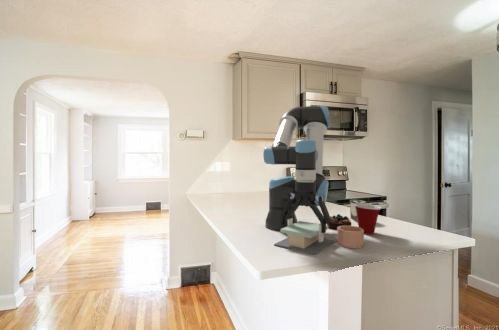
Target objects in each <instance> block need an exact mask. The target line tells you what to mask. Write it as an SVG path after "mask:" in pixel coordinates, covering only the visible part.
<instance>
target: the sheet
mask: <svg viewBox="0 0 499 330" xmlns="http://www.w3.org/2000/svg"><path fill="white" fill-rule="evenodd" d="M319 224H320V223H316V222H315V223H314V222H309V221H301V220H299V221H298V222H297V223H294V224H292V225H289V226H287V227H285V228H282V229H280V230H279V231H280V233H281V234H287V235H288V234H291V235H297V236H302V237H307V238H312V237H314V236H316V235H318V234H319ZM327 230H329V228H328V225H327V224H326V231H327Z"/></svg>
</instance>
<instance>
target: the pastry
mask: <svg viewBox="0 0 499 330" xmlns="http://www.w3.org/2000/svg"><path fill="white" fill-rule="evenodd" d="M330 218H331V222H330V223H327V224H326V225H328V230H335V231H336V230H337V227H339V226H352V221H351V219H350V218H349V217H348V216H346V215H345V216H343V215H341V214H340V213H339V214H337V215H334V214H333V215H332V216H330Z"/></svg>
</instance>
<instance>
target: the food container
mask: <svg viewBox="0 0 499 330" xmlns="http://www.w3.org/2000/svg"><path fill="white" fill-rule="evenodd" d="M354 204H367V201H365V200H362V199H350V200H349V205H350V206H349V208H350V212H349V213H350V220H352V221H353V222H355V223H357V224H358V220H357V213H356V208H355V205H354Z"/></svg>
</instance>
